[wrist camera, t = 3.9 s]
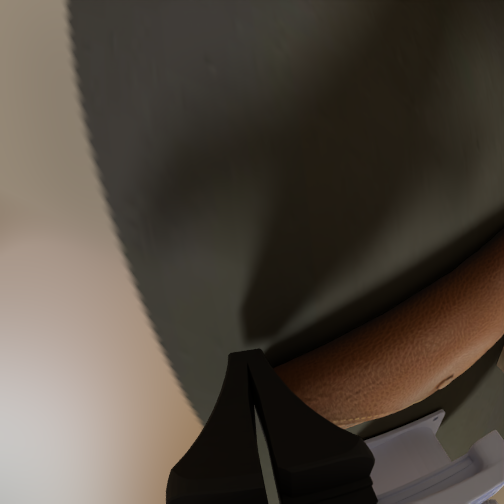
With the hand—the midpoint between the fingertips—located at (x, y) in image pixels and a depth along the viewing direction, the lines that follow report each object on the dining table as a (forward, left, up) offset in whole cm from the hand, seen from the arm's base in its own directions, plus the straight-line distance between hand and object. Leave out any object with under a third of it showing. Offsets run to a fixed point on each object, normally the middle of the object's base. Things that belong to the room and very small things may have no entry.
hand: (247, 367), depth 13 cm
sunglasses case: (+10, -2, -2) cm, 10 cm away
